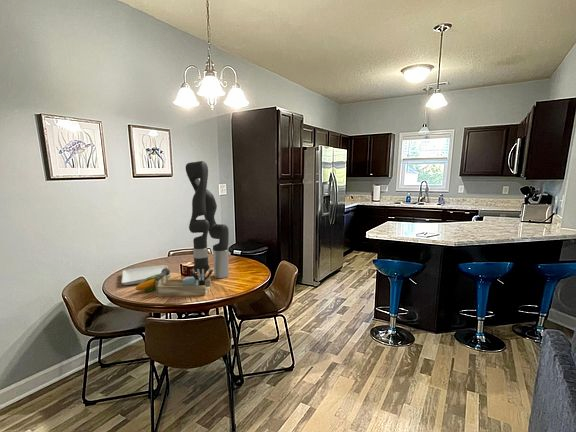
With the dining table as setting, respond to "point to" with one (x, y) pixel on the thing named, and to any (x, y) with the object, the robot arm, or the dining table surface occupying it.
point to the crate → (189, 281)
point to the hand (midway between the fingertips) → (202, 286)
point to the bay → (178, 286)
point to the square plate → (141, 274)
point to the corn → (148, 284)
